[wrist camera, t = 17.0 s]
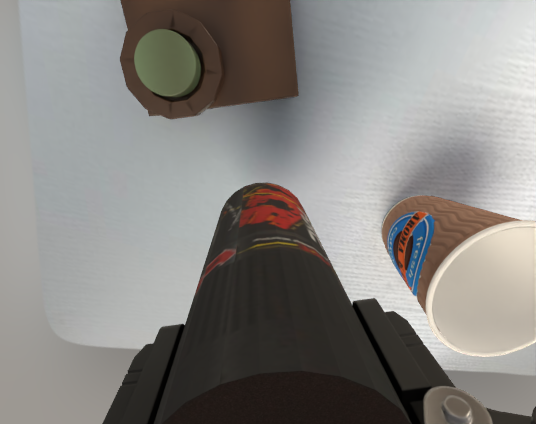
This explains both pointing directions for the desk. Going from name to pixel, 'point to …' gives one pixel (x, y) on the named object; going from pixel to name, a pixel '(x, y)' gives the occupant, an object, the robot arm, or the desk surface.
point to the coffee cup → (467, 272)
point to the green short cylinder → (167, 63)
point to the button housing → (217, 51)
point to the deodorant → (274, 329)
